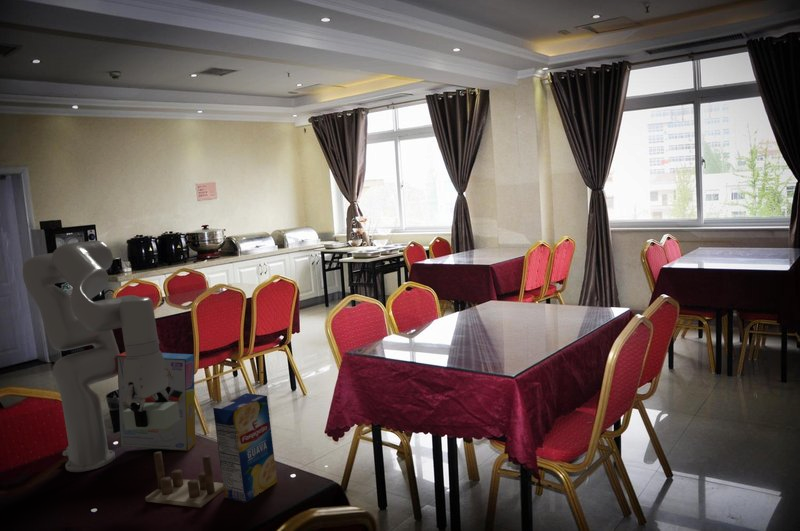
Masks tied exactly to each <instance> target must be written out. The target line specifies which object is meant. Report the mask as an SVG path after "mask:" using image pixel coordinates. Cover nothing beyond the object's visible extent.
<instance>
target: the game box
mask: <svg viewBox="0 0 800 531" xmlns="http://www.w3.org/2000/svg"><path fill="white" fill-rule="evenodd" d="M161 353H162V356H163V359H164V362H165V366H166V371H167V376H169V377H170V378H171V379H173V383H172V386H171V387H170V388H171V390H170V392H169V399H167V400H168V402H178V407H179V414H180V420H179V421H177V422H176V423H174V424H173V425H171V426H170V427H168V428H167V429H134V430H125V424H124V417H123V411H125V410H126V409H128V407H127V406H126V405H125V404H123V403H122V399H123V397H124V395H125V390H124V379H123V364H124V359H126V352H125V351H124V352H122V353H120V354H119V355H117V363H118V375H117V386H118V413H119V416H118V417H119V446H120V447H124V448H125V447H127V448H128V447H129V448H138V449H139V448H140V449H155V450H169V451H184V452H186V451H187V452H188V451H190V450H191V449H192V448H193V447H194V446H195V445H196V409H195V407H196V405H195V404H196V403H195V402H196V401H195V397H196V396H195V354H190V353H173V352H172V353H171V352H161ZM160 393H161V392H160ZM131 400H132V399H131ZM156 400H158V399H157V397H156V395H155V394H154V395H152V396H150V397H148V398H145V403H156ZM137 403H139V401H138V402H137Z"/></svg>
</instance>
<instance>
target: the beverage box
mask: <svg viewBox="0 0 800 531" xmlns="http://www.w3.org/2000/svg"><path fill="white" fill-rule="evenodd" d="M212 409H213V410H212V411H213V418H214V425H215V426H214V427H215V433H216V434H215V435H216V440H217V449H218V450H217V451H218V457H219V464H220V465H219V466H220V473H221V479H222V482H221V483H223V489H224V490H223V495H224V498H226V499H231V500H233V501H238V502H242V503H245V502H246V503H247V502H249V501H250V500H252V499H253V498H256V497H257V496H258V495H260V494H261V493H263V492H264V491H265V490H267V489H269V488H270V487H272V486H274V485H275V484H277V483H278V479H277V469H276V461H275V460H276V459H275V453H274V452H275V451H274V444H273V443H274V442H273V435H272V426H271V425H272V424H271V419H270V418H271V417H270V409H269V401H268V395H265V394H264V395H263V394H255V393H249V392H248V393H246V392H245V393H243V394H241V395H239V396H237V397H234V398H232V399H231V400H227V401H226V402H223V403H221V404H219V405H217V406H214V407H212ZM259 493H260V494H259Z"/></svg>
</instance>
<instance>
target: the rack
mask: <svg viewBox="0 0 800 531" xmlns="http://www.w3.org/2000/svg"><path fill="white" fill-rule="evenodd" d="M153 457H154V466H155V474H156V480H157V486H158V488H157V489H156V490H154V491H152V492H151V493H150V494H148V495H147V496H145V502H148V503H156V504H163V505H164V504H165V505H166V504H167V505H175V506H182V507H183V506H185V507H193V508H203V507H204V506H205V505H206V504H207V503H209V502H210V501H211V500H213V499H214V498H215V497H216V496H218V495H219V494H220V493H222V492H224V489H223V482H215V481H214V475H213V474H214V473H213V466H212V460H211V459H212V458H211V454H207V455H204V456H202V464H203V472H200V473H198V479H195V478H194V479H184V478H183V470H182V469H179V468H178V469H175V470H172V471H171V477H170V476H166V475H165V474H166V473H165V467H164V461H163V453H162V451H161V450H160V451H156V452H153Z"/></svg>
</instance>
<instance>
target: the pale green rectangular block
mask: <svg viewBox="0 0 800 531" xmlns="http://www.w3.org/2000/svg"><path fill="white" fill-rule="evenodd" d="M137 404H138V405H139V403H137ZM143 410H146V414H147V421H148V426H147V427H136V424H135V417H134V411H131V409H129V408H128V409H126V410H125V411H123V417H124V424H125V430H134V429H167V428H168V427H170V426H171V425H173V424H174V423H176V422H177V421H179V420H180V414H179V407H178V402H156V403H145V404H144V409H143Z"/></svg>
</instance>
